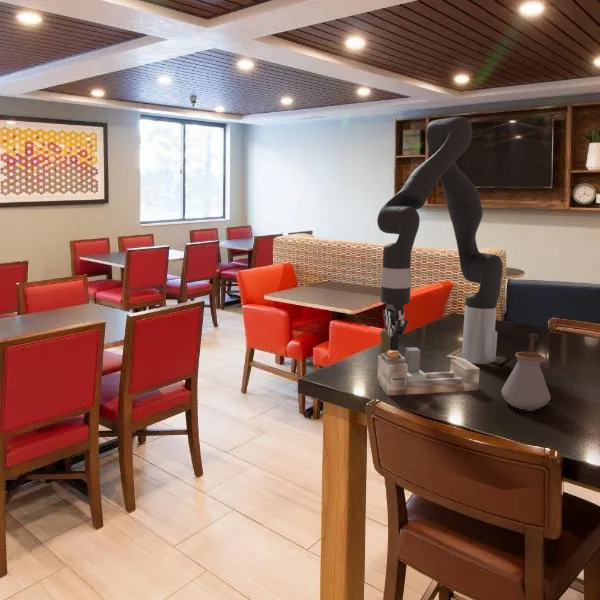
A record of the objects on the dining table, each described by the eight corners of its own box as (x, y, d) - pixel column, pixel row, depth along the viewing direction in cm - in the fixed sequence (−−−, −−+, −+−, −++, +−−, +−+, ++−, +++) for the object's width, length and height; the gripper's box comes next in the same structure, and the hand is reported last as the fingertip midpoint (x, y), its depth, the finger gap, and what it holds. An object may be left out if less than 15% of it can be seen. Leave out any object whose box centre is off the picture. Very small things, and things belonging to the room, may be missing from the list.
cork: (397, 368, 177) (398, 332, 174) (376, 366, 178) (377, 330, 176) (398, 362, 182) (399, 327, 180) (378, 360, 184) (379, 326, 181)
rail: (462, 379, 167) (465, 347, 165) (478, 391, 158) (481, 357, 156) (377, 384, 163) (378, 351, 161) (388, 396, 153) (390, 361, 152)
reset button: (396, 357, 159) (396, 350, 158) (400, 360, 156) (400, 353, 156) (385, 357, 158) (385, 350, 158) (389, 361, 155) (389, 353, 155)
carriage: (415, 371, 163) (416, 344, 162) (426, 380, 156) (427, 353, 154) (397, 372, 163) (398, 345, 161) (408, 381, 155) (409, 353, 153)
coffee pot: (548, 416, 141) (554, 355, 138) (497, 408, 146) (502, 349, 143) (551, 389, 160) (557, 334, 157) (507, 382, 165) (511, 330, 162)
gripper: (419, 288, 147) (416, 356, 151) (400, 280, 160) (398, 342, 164) (390, 289, 146) (387, 357, 150) (374, 280, 159) (372, 343, 162)
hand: (393, 349), depth 157 cm, fingers closed
